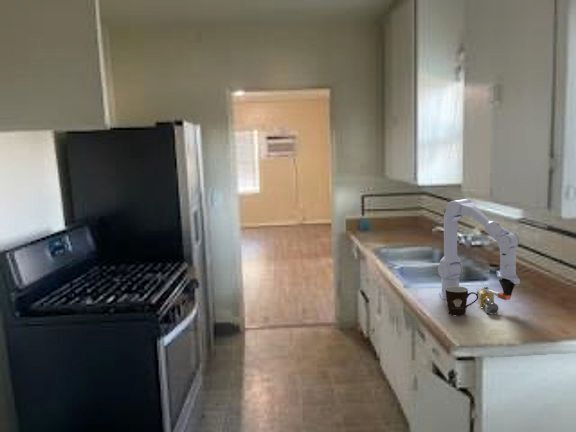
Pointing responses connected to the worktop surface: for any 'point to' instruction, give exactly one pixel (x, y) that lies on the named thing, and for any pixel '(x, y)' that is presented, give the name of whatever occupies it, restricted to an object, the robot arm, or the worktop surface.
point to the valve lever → (500, 295)
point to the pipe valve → (487, 301)
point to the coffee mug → (457, 300)
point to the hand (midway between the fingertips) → (507, 297)
